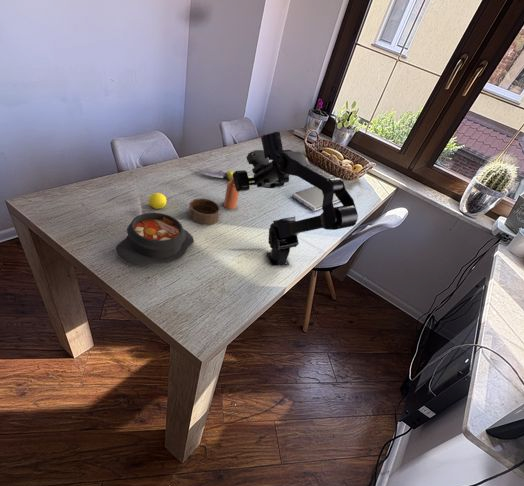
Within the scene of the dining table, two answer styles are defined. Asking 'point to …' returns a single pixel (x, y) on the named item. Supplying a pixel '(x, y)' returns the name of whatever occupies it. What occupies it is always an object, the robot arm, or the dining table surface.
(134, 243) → the casserole
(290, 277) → the dining table surface
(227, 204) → the bottle
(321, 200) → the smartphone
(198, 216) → the bowl
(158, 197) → the lemon
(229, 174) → the knife
